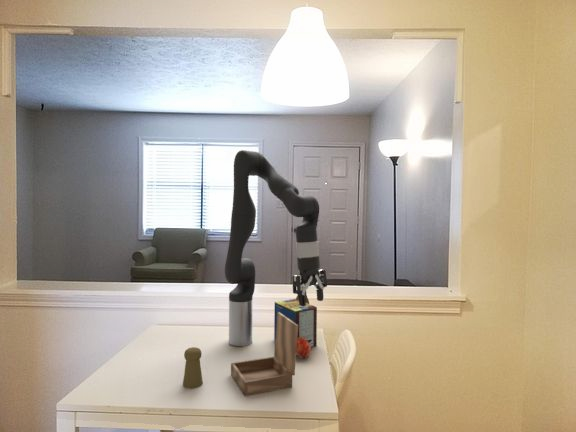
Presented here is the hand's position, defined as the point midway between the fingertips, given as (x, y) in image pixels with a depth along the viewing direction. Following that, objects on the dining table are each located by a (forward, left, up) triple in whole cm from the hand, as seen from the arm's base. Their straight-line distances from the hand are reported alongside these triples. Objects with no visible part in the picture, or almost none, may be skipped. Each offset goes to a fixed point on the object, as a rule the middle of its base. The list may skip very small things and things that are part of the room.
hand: (311, 303), depth 138 cm
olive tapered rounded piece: (-3, -39, -23) cm, 45 cm away
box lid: (+3, -11, -11) cm, 16 cm away
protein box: (-24, +5, -23) cm, 33 cm away
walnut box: (+3, -19, -22) cm, 29 cm away
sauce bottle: (-38, +15, -23) cm, 47 cm away
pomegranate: (-10, +1, -23) cm, 25 cm away
